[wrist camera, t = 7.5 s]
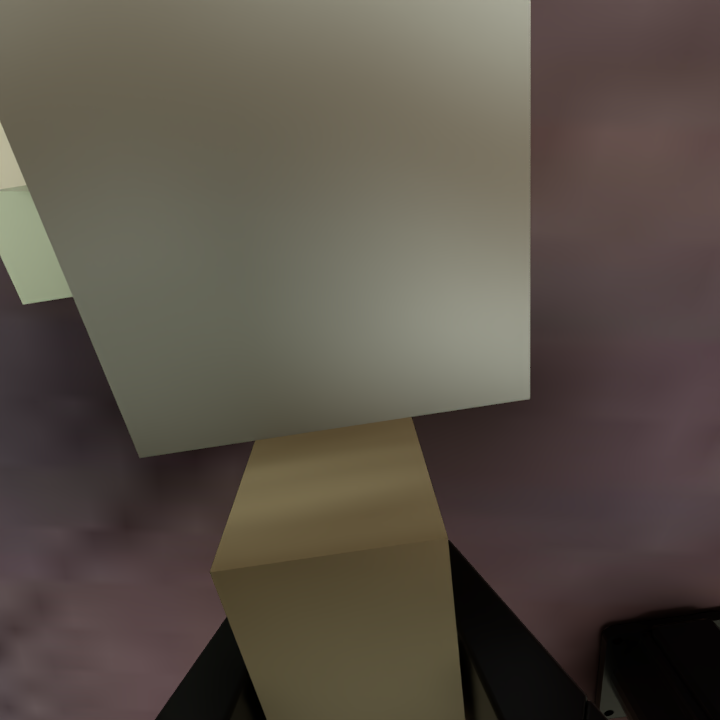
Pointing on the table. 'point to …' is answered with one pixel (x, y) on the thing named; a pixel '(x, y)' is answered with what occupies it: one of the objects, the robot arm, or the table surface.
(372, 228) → the turner
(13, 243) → the mat
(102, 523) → the table surface
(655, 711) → the robot arm
